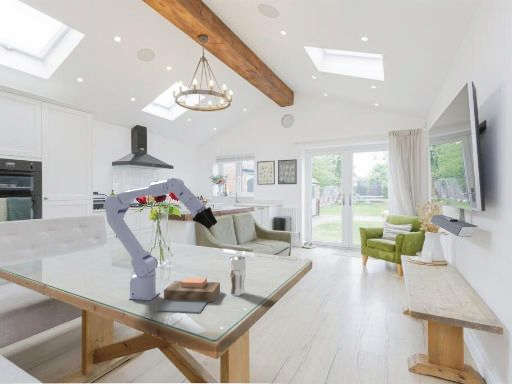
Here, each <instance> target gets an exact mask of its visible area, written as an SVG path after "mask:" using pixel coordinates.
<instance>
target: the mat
mask: <svg viewBox="0 0 512 384" xmlns="http://www.w3.org/2000/svg"><path fill="white" fill-rule="evenodd" d="M208 303H209V302H208V301H204V300H180V299H168V300H165V301H164V302H163V304H162V305H160V306H159V307H158V308H157V309H156V312H163V313H165V312H166V313H182V314H183V313H185V314H187V313H188V314H200V313H201V312H202V310H204V308H205V307H206V306H207V304H208Z"/></svg>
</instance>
